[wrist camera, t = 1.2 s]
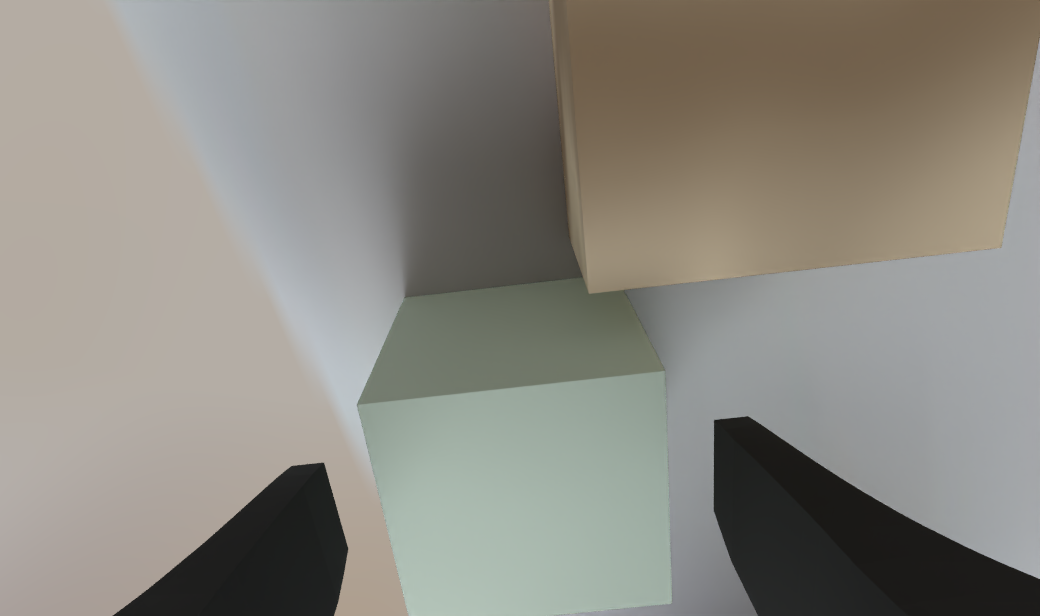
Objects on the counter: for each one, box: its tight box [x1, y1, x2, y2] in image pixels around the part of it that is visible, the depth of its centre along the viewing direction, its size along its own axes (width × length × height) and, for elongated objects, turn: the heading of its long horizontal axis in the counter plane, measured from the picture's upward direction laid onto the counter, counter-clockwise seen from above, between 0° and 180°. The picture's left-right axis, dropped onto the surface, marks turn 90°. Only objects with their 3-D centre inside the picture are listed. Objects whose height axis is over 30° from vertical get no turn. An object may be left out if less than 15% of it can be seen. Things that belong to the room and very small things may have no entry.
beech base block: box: [549, 0, 1040, 294], centre depth 11 cm, size 7×7×4 cm
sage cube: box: [357, 277, 672, 616], centre depth 13 cm, size 5×5×5 cm
